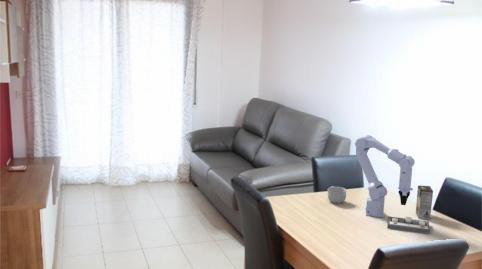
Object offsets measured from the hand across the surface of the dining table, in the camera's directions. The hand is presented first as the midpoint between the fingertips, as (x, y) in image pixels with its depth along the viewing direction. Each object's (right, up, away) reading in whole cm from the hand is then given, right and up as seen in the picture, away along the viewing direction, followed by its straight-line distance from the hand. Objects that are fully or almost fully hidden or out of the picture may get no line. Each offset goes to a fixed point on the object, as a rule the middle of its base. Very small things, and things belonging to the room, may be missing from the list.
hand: (403, 204), depth 227 cm
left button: (-5, -9, -2) cm, 11 cm away
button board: (+1, -11, -5) cm, 12 cm away
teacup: (-28, -3, +32) cm, 43 cm away
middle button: (+1, -8, -4) cm, 9 cm away
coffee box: (+15, -8, +10) cm, 20 cm away
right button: (+7, -10, -6) cm, 14 cm away
